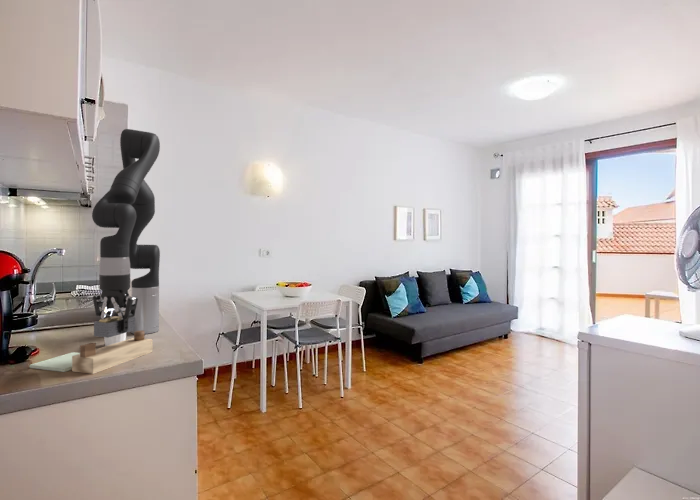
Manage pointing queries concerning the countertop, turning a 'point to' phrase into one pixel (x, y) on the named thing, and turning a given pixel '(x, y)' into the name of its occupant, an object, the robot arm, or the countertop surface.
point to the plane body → (111, 354)
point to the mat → (56, 363)
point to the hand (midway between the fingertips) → (115, 331)
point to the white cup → (115, 339)
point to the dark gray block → (111, 326)
